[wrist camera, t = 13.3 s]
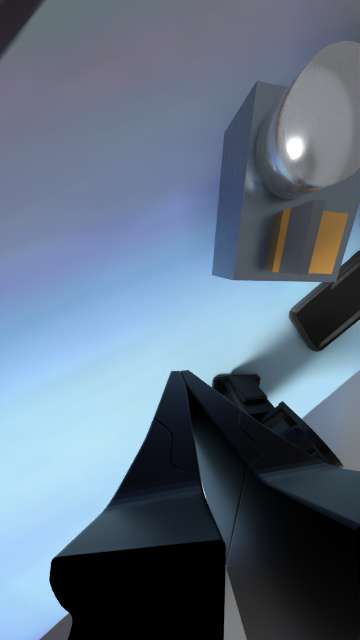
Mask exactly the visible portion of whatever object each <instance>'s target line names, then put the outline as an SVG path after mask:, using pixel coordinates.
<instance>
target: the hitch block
mask: <svg viewBox="0 0 360 640" xmlns="http://www.w3.org/2000/svg"><path fill="white" fill-rule="evenodd" d="M286 90H287V88H286V87H282V86H277V85H273V84H268V83H264V82H260V81H257V82H256V84H255V85H254V87H253V88H252V90H251V91H250V93H249V95H248V96H247V98H246V99H245V101H244V103H243V104H242V106H241V107H240V109H239V111H238V112H237V114H236V115H235V117H234V118H233V120H232V122H231V123H230V125H229V126H228V128H227V130H226V131H225V135H224V147H223V158H222V169H221V181H220V192H219V203H218V215H217V226H216V237H215V249H214V260H213V271H212V275H215V276H219V277H223V278H227V279H230V280H254V281H303V282H336V280H337V277H338V274H339V270H340V267H341V263H342V260H343V256H344V253H345V250H346V246H347V243H348V239H349V236H350V232H351V229H352V226H353V222H354V219H355V215H356V212H357V208H358V205H359V202H360V168H359V169H358V170H357V171H356V172H355V173H353V174H352V175H351V176H349V177H348V178H346V179H344V180H342V181H340V182H338V183H335V184H333V185H330V186H328V187H325V188H323V189H320V190H317V191H315V192H312V193H310V194H307V195H305V196H302V197H299V198H296V199H284V198H281V197H278V196H276V195H275V194H273V193H272V192H271V191H270V190H269V189H268V188H267V187H266V186H265V184H264V183H263V181H262V179H261V177H260V174H259V171H258V166H257V160H256V146H257V139H258V134H259V131H260V127H261V125H262V122H263V120H264V118H265V116H266V115H267V113H268V112H269V110H270V109H271V107H272V106H273V105H274V104H275V103H276V101H277V100H278V99H279V98H280V97H281V96H282V94H283V93H284V92H285V91H286ZM312 200H324V201H326V202H325V206H324V210H323V211H330V212H340V213H349V214H348V218H347V222H346V225H345V229H344V232H343V236H342V239H341V243H340V246H339V250H338V254H337V257H336V261H335V264H334V268H333V271H332V274H317V273H308V275H300V274H289V273H280V272H272V270H273V264H274V259H275V254H276V248H277V243H278V237H279V232H280V226H281V221H282V215H283V210H286V209H289V208H292V207H295V206H298V205H300V204H303V203H306V202H309V201H312Z"/></svg>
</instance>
